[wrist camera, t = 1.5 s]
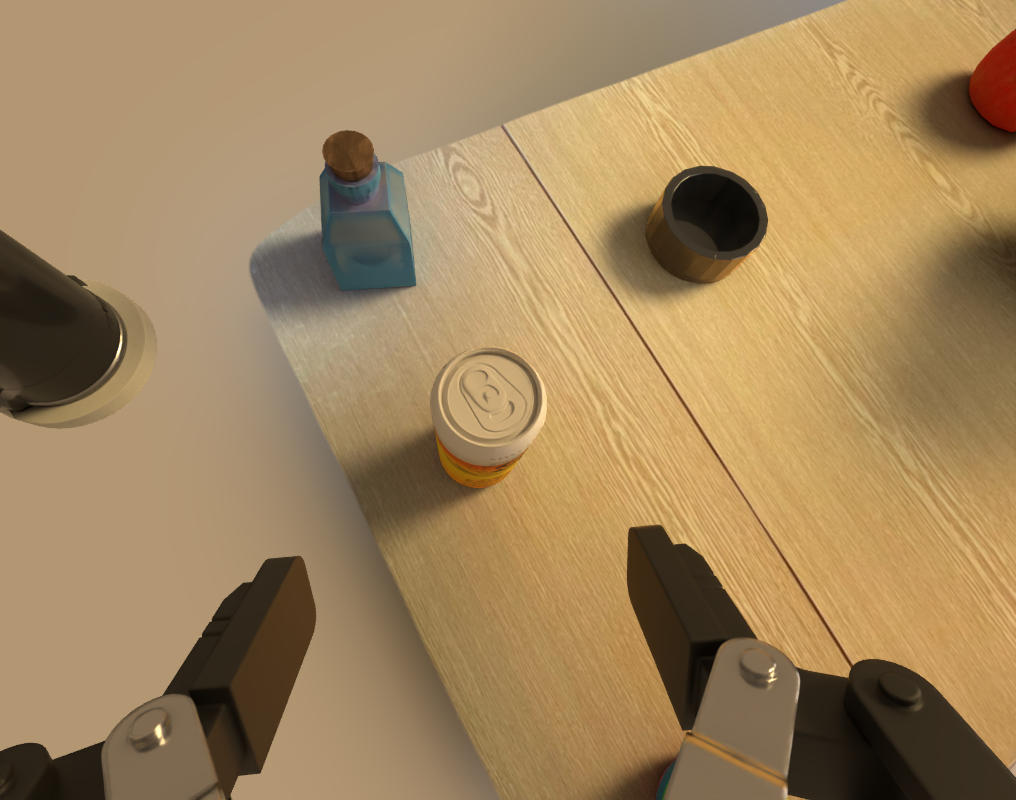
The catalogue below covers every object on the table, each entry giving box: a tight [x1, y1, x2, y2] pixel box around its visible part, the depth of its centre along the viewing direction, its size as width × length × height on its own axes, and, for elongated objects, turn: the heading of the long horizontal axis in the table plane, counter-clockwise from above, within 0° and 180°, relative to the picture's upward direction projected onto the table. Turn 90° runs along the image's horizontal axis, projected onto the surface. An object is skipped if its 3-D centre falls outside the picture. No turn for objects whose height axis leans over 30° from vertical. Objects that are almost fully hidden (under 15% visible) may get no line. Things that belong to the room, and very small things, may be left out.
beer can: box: [430, 346, 547, 488], centre depth 32 cm, size 6×6×15 cm
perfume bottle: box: [320, 130, 416, 291], centre depth 37 cm, size 6×6×12 cm
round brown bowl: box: [646, 166, 768, 283], centre depth 45 cm, size 9×9×4 cm
